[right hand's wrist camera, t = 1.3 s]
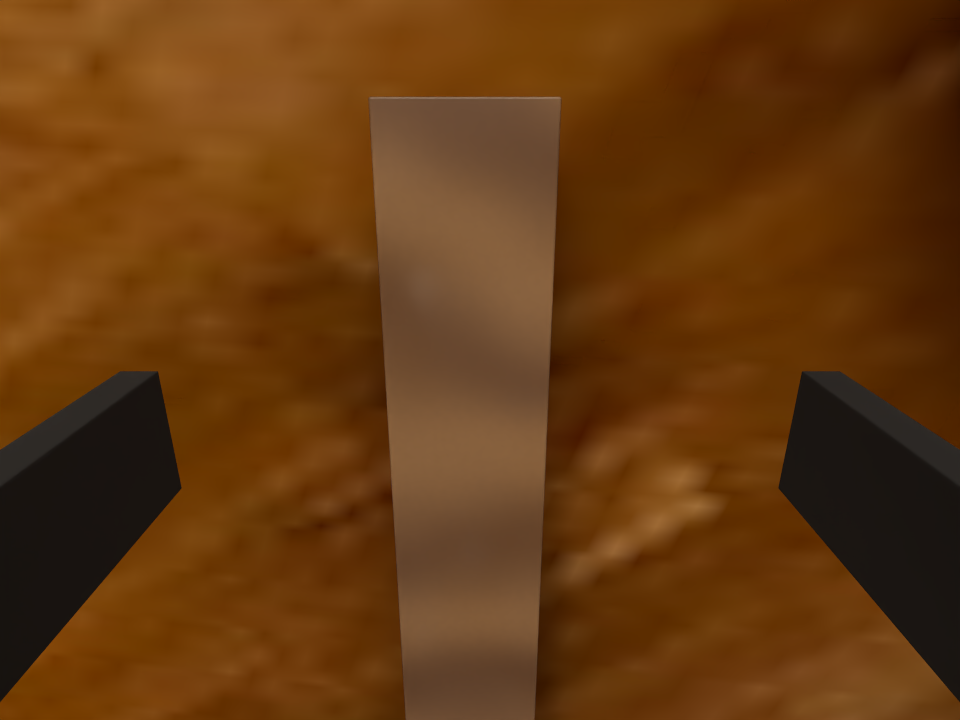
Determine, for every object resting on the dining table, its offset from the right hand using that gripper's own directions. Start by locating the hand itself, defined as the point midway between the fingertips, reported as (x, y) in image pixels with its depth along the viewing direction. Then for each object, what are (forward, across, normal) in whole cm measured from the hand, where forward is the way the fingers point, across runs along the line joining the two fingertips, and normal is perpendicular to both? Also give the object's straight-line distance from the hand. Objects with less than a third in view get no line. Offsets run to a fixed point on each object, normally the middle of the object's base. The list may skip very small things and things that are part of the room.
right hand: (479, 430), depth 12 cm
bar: (+13, 0, -22) cm, 25 cm away
